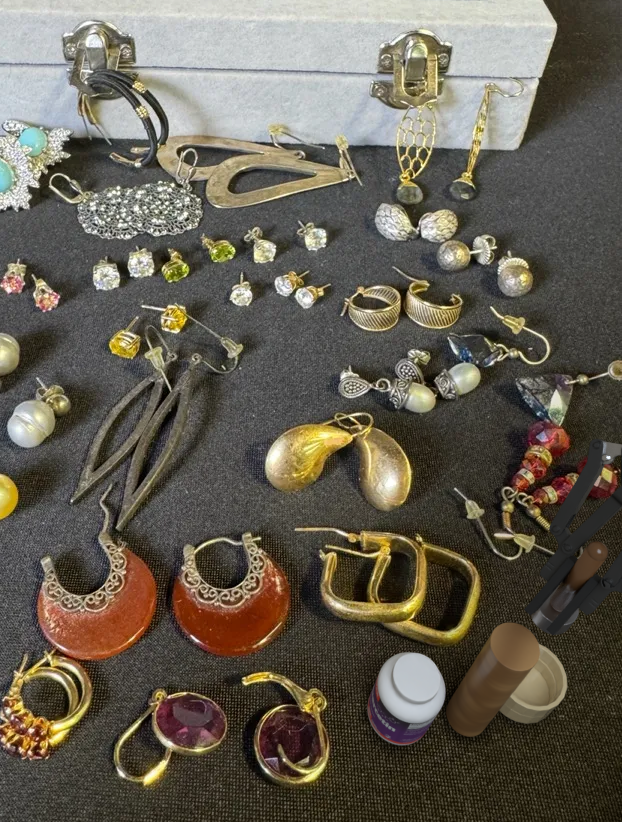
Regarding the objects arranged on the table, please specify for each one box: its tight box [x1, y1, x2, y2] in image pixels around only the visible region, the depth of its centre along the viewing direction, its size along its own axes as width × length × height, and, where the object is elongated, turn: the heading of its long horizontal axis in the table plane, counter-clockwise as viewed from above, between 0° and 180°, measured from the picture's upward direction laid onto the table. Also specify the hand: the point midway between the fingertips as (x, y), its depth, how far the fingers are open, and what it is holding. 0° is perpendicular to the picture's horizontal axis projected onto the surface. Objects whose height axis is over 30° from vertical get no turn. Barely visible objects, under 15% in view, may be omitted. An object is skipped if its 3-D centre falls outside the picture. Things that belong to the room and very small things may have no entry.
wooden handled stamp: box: [530, 540, 609, 636], centre depth 76 cm, size 4×4×15 cm
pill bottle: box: [366, 651, 446, 746], centre depth 99 cm, size 8×8×14 cm
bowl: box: [498, 643, 568, 725], centre depth 104 cm, size 9×9×6 cm
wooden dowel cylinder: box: [445, 621, 540, 738], centre depth 95 cm, size 5×5×24 cm
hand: (541, 619), depth 76 cm, fingers closed on wooden handled stamp, 2 cm apart
